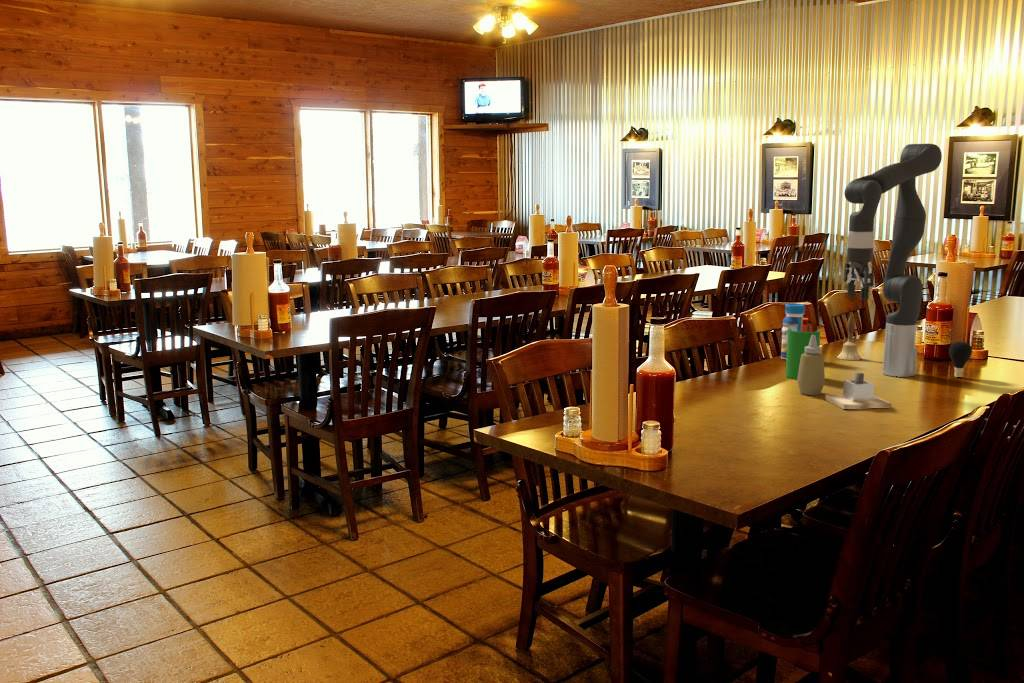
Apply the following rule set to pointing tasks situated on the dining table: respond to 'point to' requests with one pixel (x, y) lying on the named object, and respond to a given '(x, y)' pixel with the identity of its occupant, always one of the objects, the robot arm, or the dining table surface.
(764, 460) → the dining table surface
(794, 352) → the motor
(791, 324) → the beverage bottle
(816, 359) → the squeeze bottle
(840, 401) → the stand
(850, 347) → the hand bell
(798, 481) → the dining table surface
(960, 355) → the light bulb
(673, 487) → the dining table surface
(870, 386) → the collar
